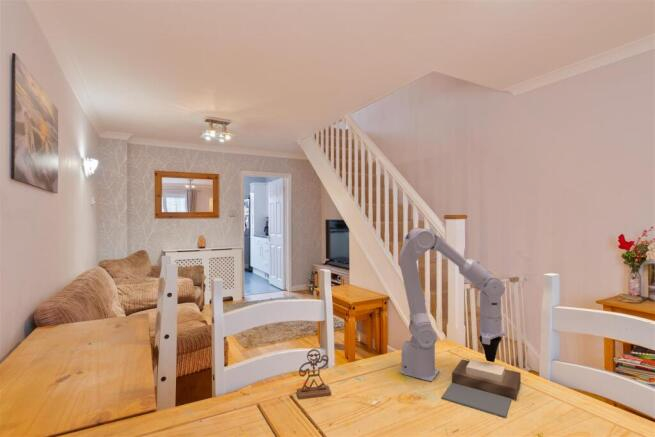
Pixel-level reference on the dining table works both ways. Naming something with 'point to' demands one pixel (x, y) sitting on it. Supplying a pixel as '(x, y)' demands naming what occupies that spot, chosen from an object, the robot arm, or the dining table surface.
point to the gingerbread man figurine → (313, 391)
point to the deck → (488, 381)
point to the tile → (485, 370)
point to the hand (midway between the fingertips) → (490, 360)
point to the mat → (477, 399)
